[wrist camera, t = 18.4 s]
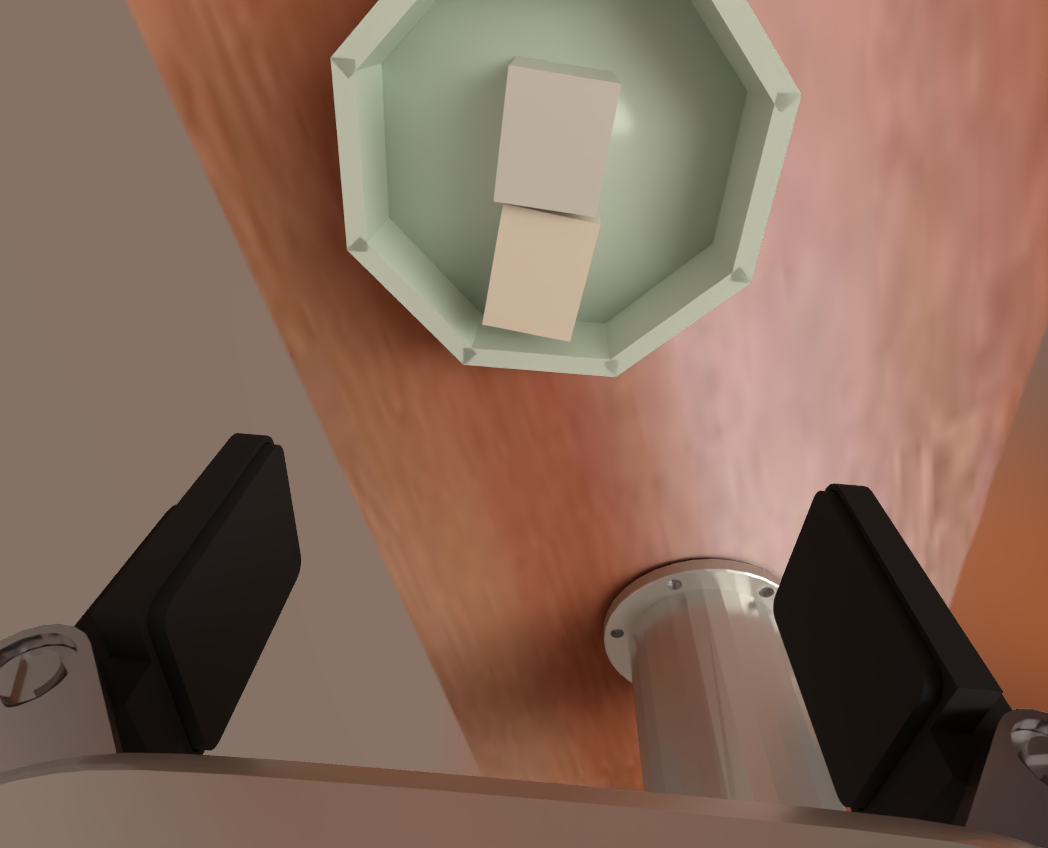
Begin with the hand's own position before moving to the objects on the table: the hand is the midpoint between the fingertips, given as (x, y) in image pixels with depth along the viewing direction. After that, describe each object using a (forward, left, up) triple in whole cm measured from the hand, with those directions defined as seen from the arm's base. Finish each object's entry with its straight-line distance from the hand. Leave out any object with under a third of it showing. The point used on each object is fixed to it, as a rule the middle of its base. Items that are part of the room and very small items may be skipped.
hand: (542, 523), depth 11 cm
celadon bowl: (0, -3, -20) cm, 20 cm away
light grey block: (0, -4, -19) cm, 19 cm away
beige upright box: (0, -2, -17) cm, 17 cm away
